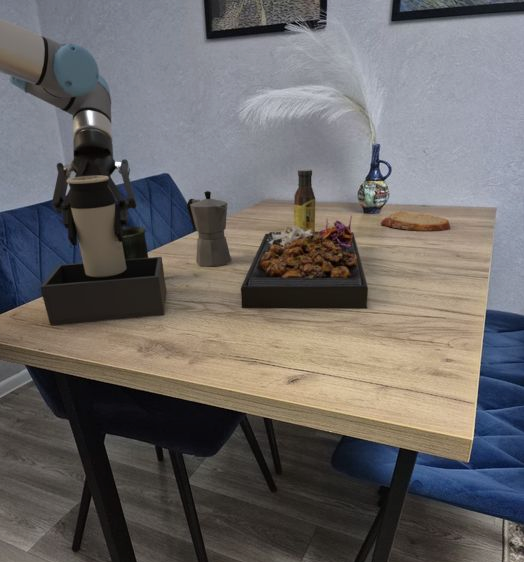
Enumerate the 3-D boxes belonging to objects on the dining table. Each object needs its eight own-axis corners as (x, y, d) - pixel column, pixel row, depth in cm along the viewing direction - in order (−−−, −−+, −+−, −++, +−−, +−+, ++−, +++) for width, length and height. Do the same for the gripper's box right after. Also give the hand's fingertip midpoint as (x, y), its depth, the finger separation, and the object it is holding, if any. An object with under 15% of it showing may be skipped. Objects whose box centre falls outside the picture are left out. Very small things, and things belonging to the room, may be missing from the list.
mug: (162, 281, 112) (154, 230, 107) (104, 297, 103) (93, 242, 98) (139, 271, 119) (132, 224, 114) (84, 286, 111) (73, 235, 105)
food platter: (265, 249, 134) (264, 212, 130) (353, 248, 131) (354, 210, 127) (242, 307, 94) (238, 257, 90) (366, 308, 92) (369, 256, 87)
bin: (50, 325, 90) (40, 286, 87) (66, 299, 103) (58, 264, 100) (164, 314, 93) (158, 276, 89) (166, 290, 106) (161, 256, 102)
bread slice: (454, 229, 147) (456, 216, 145) (402, 234, 143) (403, 222, 141) (424, 218, 162) (425, 207, 161) (376, 223, 159) (376, 211, 157)
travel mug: (78, 278, 92) (56, 181, 84) (97, 266, 99) (78, 175, 91) (116, 278, 91) (97, 180, 83) (133, 266, 98) (117, 174, 90)
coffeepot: (243, 262, 123) (239, 190, 115) (216, 270, 118) (209, 196, 109) (206, 252, 133) (200, 186, 125) (179, 260, 127) (171, 191, 119)
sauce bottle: (308, 243, 138) (309, 171, 129) (290, 241, 141) (289, 171, 132) (318, 238, 143) (319, 168, 134) (300, 236, 146) (300, 168, 137)
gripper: (148, 152, 100) (155, 245, 93) (46, 158, 98) (45, 254, 91) (142, 125, 93) (149, 224, 86) (32, 130, 91) (30, 232, 84)
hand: (96, 239), depth 88 cm, fingers closed on travel mug, 8 cm apart
